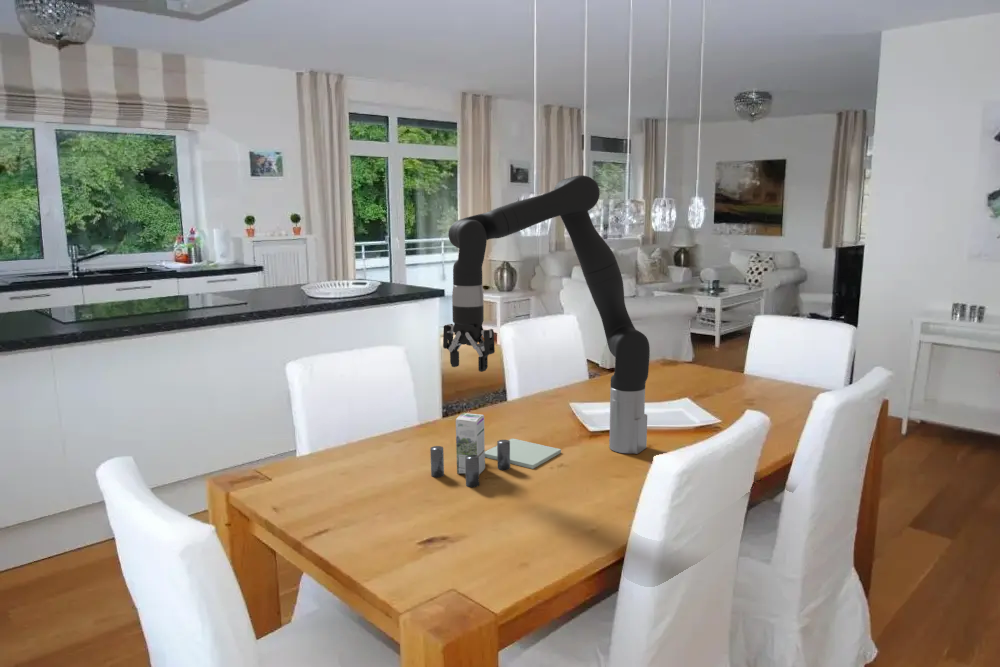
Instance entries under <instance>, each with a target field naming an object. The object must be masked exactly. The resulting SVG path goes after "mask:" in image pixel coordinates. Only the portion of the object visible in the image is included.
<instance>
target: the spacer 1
mask: <svg viewBox="0 0 1000 667" xmlns="http://www.w3.org/2000/svg"><path fill="white" fill-rule="evenodd" d="M429 453H430V475H431V477H433V478H442V477H444V475H445V461H444V460H445V459H444V458H445V457H444V454H445V453H444V447H443V446H440V445H434V446H433V445H432V446H431V447H430V452H429Z"/></svg>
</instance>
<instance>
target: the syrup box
mask: <svg viewBox="0 0 1000 667" xmlns="http://www.w3.org/2000/svg"><path fill="white" fill-rule="evenodd" d="M455 441H456V442H455V446H456V448H455V449H456V450H455V451H456V453H455V454H456V474H457V475H465V476H466V465H465V457H466V456H467V455H477V456H479V475H480V474H482V473H483V471H484V470H485V469H486V459H485V458H486V457H485V451H486V450H485V415H484V414H478V413H466V412H463V413H462V414H459V415H458V416H457V418H455Z"/></svg>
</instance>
